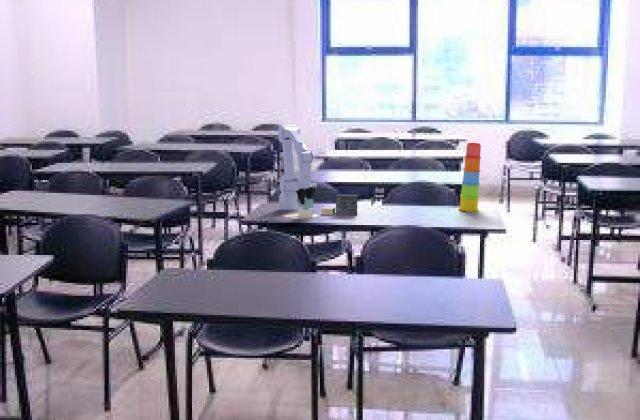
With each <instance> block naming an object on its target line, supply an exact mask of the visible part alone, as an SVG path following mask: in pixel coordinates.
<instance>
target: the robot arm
mask: <svg viewBox="0 0 640 420" xmlns="http://www.w3.org/2000/svg"><path fill="white" fill-rule="evenodd" d="M300 129H301V128H300V126H299V124H297V123H296V124H280V125H279V126H278V130H277V134H278V141H279V142H280V143H281V145H282V155H283V156H282V157H283V166H284V167H283V168H284V175H282V176H281V177H280V178H279V191H280V192H281V193H280V194H279V196H278V208H277V210H279V211H294V210H298V201H299V200H300V204H304V203H305V198H309V199H313V196H314V193H316V188H318V183H317V182H312V163H313V161H314V153H313V152H312V150H310V149H308V148H307V145H306V144H305V142H304V141H302V140H301V137H300V133H301V131H300ZM293 144H294V145H293ZM293 149H294V151H295V152H296V155H297V163H298V169H299V176H298V175H297V174H295V167H294V155H293Z"/></svg>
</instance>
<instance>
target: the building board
mask: <svg viewBox="0 0 640 420" xmlns="http://www.w3.org/2000/svg"><path fill="white" fill-rule="evenodd" d="M280 216H281V217H285V218H289V219H290V218H291V219H295V220H301V221H305V220H311V219H314V218H319V217H323V214H317V213H313V217H309V218H305V217H300V216H299V215H298V211H295V212H291V213H285V214H282V215H281V214H280Z"/></svg>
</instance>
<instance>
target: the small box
mask: <svg viewBox="0 0 640 420" xmlns="http://www.w3.org/2000/svg"><path fill="white" fill-rule="evenodd" d="M335 216H353V217H354V216H356V217H357V216H358V194H345V193H343V194H336V195H335Z"/></svg>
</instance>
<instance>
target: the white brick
mask: <svg viewBox="0 0 640 420" xmlns="http://www.w3.org/2000/svg"><path fill="white" fill-rule="evenodd" d="M297 210H298V211H297V212H298V215H299V216H300V217H305V218H309V217H313V214H314V208H313V207H312V208H302V207H299V208H298V207H297Z"/></svg>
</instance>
